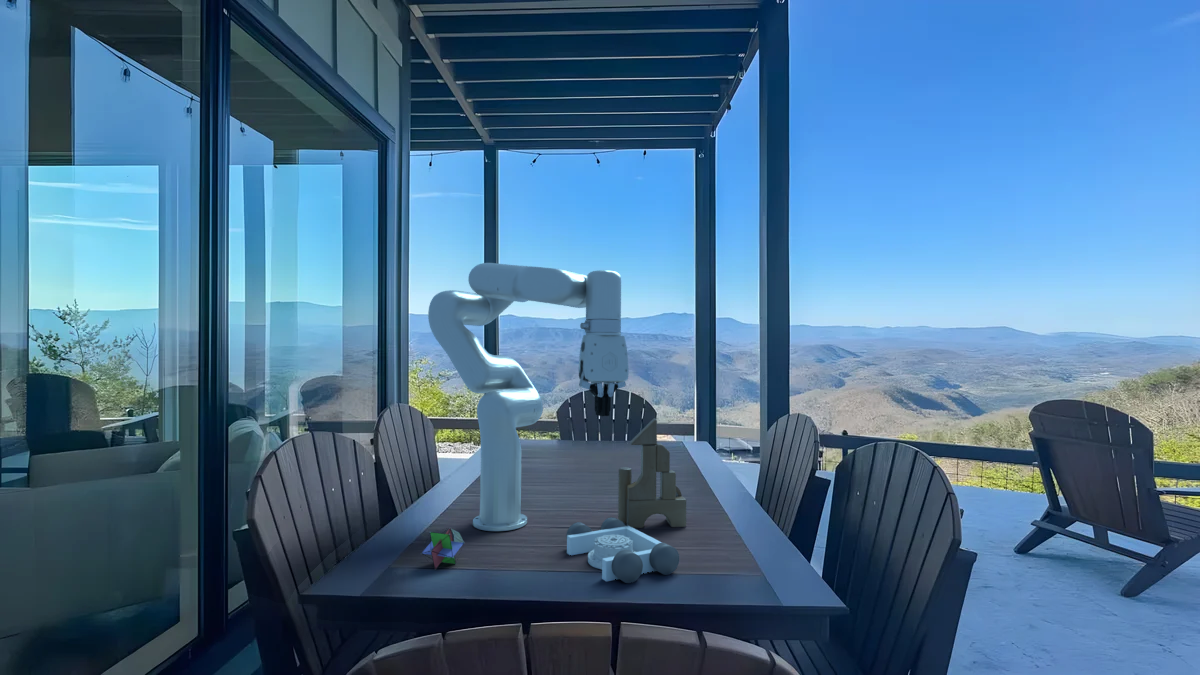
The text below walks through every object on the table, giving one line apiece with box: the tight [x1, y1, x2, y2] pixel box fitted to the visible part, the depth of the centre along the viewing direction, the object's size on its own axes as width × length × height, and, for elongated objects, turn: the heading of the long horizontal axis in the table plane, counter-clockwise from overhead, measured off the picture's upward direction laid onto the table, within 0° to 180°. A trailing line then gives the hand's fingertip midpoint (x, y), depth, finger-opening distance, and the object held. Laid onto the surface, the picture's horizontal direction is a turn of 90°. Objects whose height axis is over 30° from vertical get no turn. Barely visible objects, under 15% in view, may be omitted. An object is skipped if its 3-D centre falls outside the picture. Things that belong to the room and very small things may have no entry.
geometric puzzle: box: [420, 527, 465, 570], centre depth 104 cm, size 7×7×8 cm
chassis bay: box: [565, 517, 680, 584], centre depth 107 cm, size 21×14×5 cm
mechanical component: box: [587, 534, 637, 570], centre depth 106 cm, size 10×4×10 cm
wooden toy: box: [617, 418, 687, 529], centre depth 132 cm, size 16×7×25 cm, turn 95°
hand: (602, 415), depth 116 cm, fingers closed
